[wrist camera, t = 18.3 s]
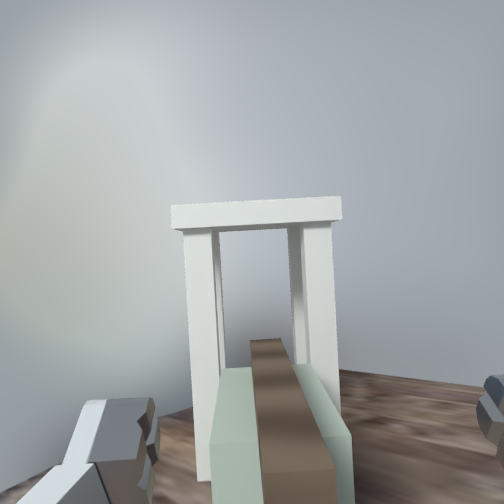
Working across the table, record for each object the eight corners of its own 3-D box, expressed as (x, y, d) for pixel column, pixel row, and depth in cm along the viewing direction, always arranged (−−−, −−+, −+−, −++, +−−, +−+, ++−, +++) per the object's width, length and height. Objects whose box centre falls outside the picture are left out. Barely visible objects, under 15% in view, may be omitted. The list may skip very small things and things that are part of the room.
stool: (202, 417, 62) (191, 216, 62) (322, 409, 63) (312, 209, 62) (187, 487, 44) (170, 204, 44) (355, 476, 45) (340, 195, 44)
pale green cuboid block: (228, 495, 43) (221, 368, 42) (316, 489, 43) (310, 363, 43) (220, 647, 27) (209, 444, 26) (361, 636, 27) (351, 435, 27)
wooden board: (251, 370, 41) (249, 340, 41) (281, 368, 41) (280, 338, 41) (267, 545, 17) (263, 473, 17) (339, 540, 17) (335, 468, 17)
